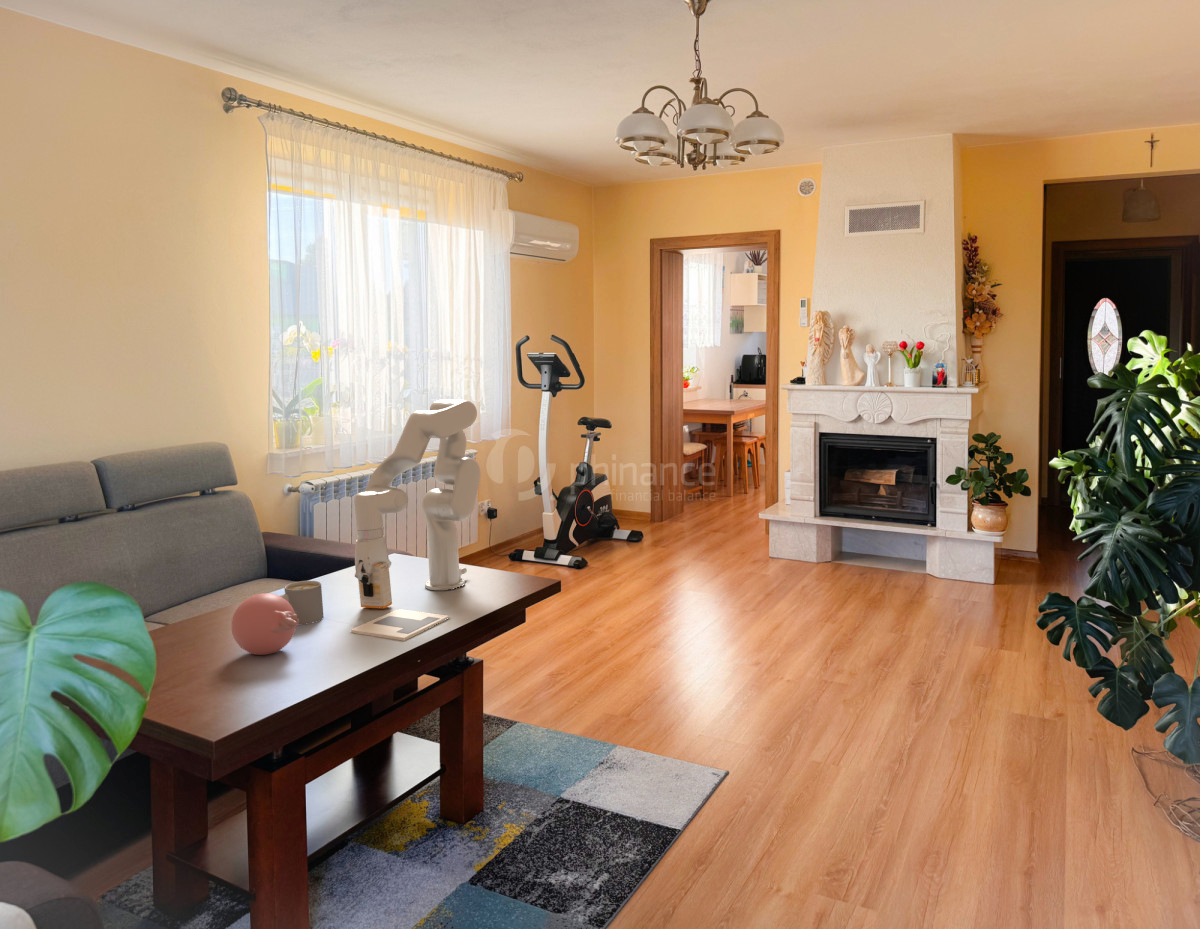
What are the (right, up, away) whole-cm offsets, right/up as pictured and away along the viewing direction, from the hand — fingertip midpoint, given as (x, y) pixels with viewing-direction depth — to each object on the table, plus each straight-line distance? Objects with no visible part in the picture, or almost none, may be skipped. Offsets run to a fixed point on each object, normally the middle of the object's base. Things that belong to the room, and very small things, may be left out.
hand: (375, 592), depth 257 cm
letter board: (+11, -7, -17) cm, 21 cm away
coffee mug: (-19, -7, -9) cm, 22 cm away
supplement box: (0, -4, +1) cm, 4 cm away
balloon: (-17, -10, -37) cm, 42 cm away
